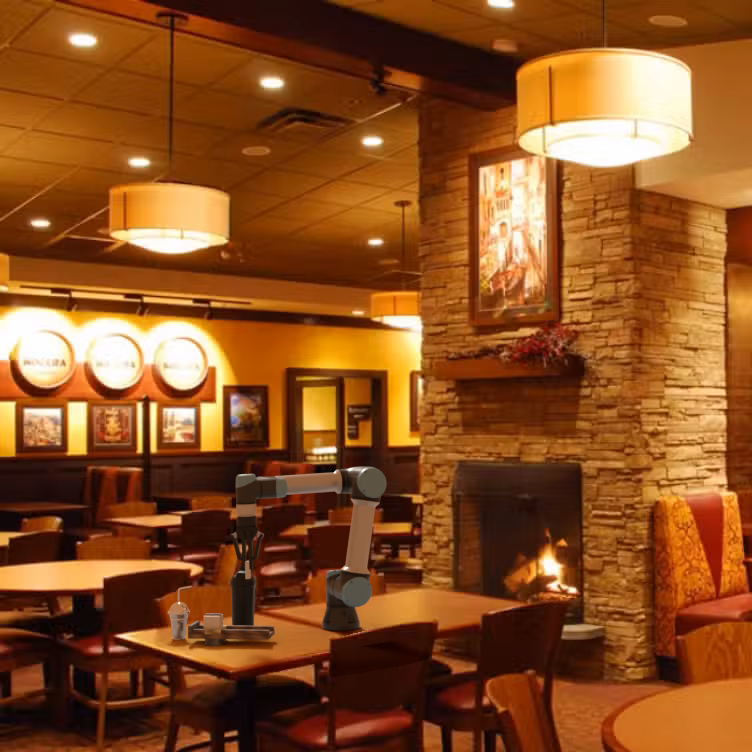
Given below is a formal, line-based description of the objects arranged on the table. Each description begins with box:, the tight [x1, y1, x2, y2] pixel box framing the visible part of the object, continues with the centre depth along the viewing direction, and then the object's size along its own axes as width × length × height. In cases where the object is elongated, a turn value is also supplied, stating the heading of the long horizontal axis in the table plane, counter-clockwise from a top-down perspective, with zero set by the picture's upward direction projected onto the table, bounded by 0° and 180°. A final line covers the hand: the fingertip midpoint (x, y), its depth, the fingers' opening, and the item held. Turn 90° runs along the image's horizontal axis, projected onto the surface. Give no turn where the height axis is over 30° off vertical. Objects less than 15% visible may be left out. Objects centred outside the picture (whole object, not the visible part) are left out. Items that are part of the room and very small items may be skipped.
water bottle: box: [229, 570, 257, 626], centre depth 443 cm, size 10×10×23 cm
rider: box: [203, 612, 224, 629], centre depth 416 cm, size 6×6×7 cm
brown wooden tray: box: [187, 620, 276, 647], centre depth 415 cm, size 30×13×7 cm, turn 84°
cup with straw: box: [167, 585, 193, 641], centre depth 425 cm, size 8×9×20 cm
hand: (248, 578), depth 419 cm, fingers closed
